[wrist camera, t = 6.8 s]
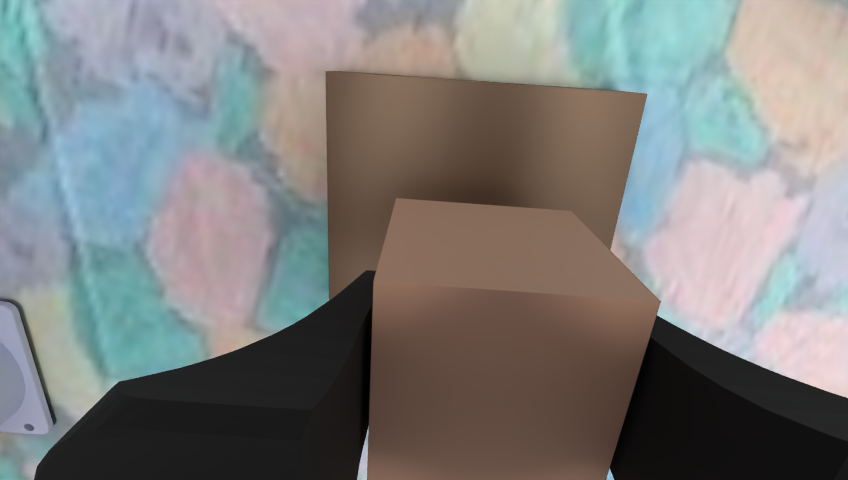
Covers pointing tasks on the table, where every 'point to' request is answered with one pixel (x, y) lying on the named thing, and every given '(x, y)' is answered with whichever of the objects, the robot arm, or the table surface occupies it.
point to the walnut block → (468, 154)
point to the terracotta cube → (500, 345)
